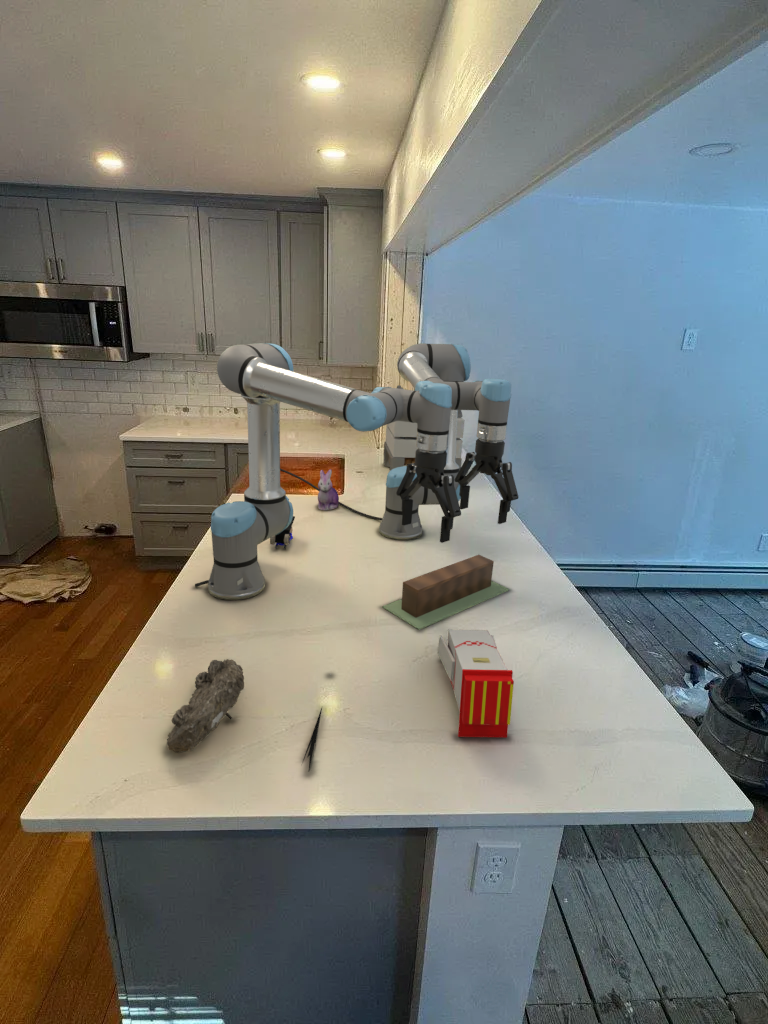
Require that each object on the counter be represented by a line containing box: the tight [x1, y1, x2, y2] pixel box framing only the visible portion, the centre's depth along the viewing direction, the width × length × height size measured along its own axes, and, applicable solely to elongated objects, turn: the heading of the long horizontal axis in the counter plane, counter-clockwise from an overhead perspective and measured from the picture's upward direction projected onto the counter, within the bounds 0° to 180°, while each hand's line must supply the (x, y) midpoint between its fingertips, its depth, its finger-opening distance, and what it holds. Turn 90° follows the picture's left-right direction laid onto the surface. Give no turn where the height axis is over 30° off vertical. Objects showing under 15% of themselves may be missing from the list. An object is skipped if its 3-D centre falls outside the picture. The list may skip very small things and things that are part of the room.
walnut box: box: [401, 554, 495, 618], centre depth 155 cm, size 30×6×8 cm, turn 131°
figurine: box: [317, 468, 340, 511], centre depth 220 cm, size 9×10×15 cm
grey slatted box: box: [383, 384, 465, 471], centre depth 268 cm, size 34×33×41 cm
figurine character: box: [269, 515, 296, 550], centre depth 186 cm, size 7×8×15 cm
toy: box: [437, 628, 515, 738], centre depth 117 cm, size 12×13×30 cm
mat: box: [382, 580, 510, 631], centre depth 157 cm, size 14×36×1 cm, turn 131°
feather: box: [301, 673, 332, 771], centre depth 108 cm, size 2×28×2 cm
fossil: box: [166, 658, 245, 754], centre depth 106 cm, size 22×10×15 cm
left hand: (424, 532), depth 142 cm, fingers open, 13 cm apart
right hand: (482, 515), depth 156 cm, fingers open, 13 cm apart
